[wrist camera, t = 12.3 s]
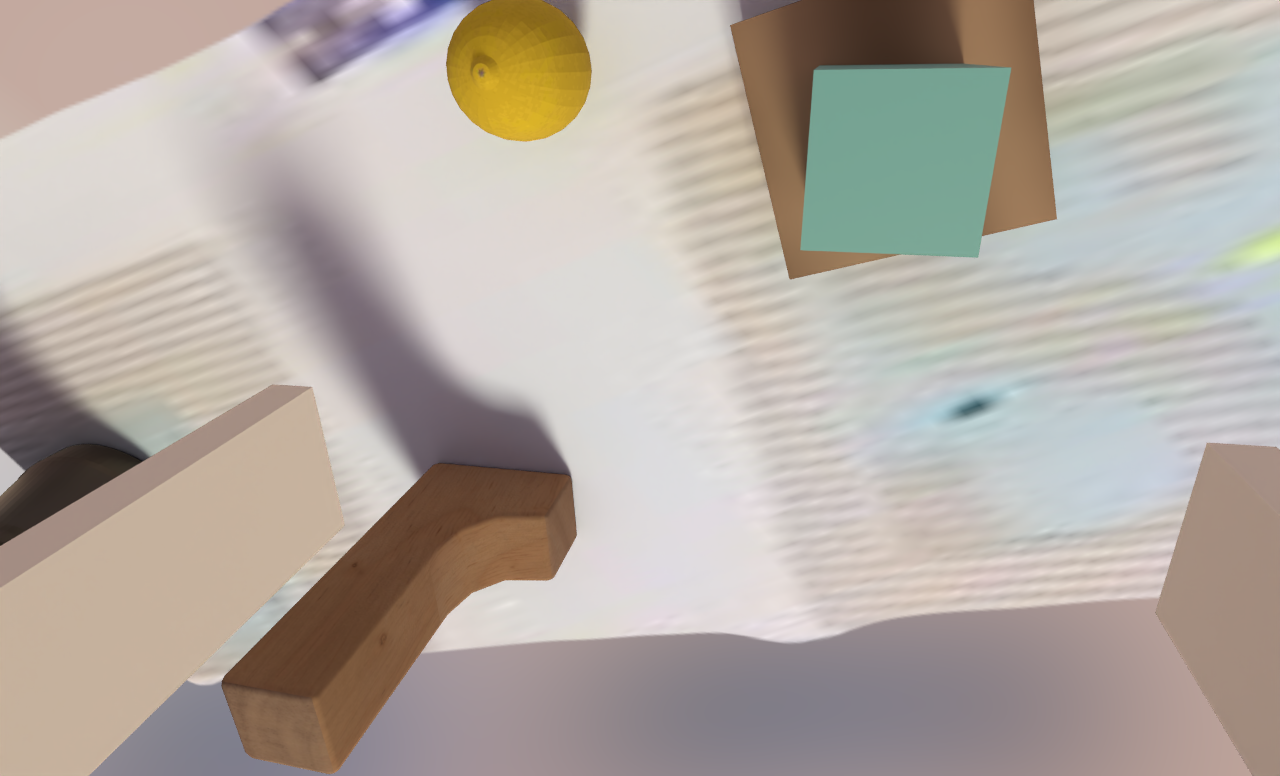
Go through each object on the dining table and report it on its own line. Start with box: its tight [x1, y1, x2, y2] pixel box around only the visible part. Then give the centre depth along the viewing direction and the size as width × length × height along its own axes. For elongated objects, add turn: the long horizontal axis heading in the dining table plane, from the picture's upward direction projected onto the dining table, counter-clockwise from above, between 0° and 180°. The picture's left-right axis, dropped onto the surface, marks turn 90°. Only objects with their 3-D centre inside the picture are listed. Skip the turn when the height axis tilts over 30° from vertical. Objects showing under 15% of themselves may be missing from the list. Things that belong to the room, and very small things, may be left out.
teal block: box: [800, 64, 1011, 257], centre depth 24 cm, size 5×5×8 cm
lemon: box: [446, 0, 592, 141], centre depth 31 cm, size 6×6×8 cm
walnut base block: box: [730, 0, 1057, 279], centre depth 30 cm, size 10×10×5 cm
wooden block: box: [222, 463, 577, 774], centre depth 37 cm, size 9×4×18 cm, turn 93°
